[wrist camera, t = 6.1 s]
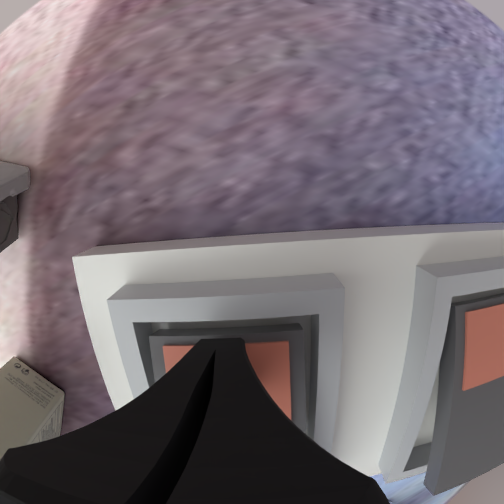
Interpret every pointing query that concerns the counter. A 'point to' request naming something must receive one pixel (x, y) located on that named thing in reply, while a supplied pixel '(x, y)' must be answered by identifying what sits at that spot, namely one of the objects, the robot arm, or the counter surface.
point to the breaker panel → (307, 319)
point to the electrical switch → (11, 199)
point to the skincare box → (27, 407)
